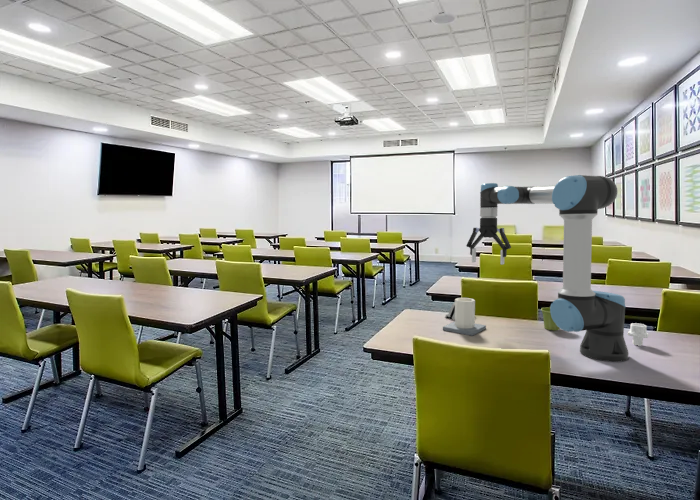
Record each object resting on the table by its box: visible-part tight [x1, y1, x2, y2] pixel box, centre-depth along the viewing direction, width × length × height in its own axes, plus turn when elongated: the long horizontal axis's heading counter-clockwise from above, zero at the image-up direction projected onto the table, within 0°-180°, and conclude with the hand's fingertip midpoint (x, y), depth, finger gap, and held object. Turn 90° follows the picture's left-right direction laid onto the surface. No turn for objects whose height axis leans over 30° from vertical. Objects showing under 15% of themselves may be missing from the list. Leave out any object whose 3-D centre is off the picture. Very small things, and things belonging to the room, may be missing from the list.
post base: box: [442, 321, 487, 337], centre depth 186 cm, size 14×14×10 cm
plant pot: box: [540, 307, 561, 332], centre depth 185 cm, size 9×9×9 cm
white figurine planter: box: [627, 322, 649, 347], centre depth 162 cm, size 6×7×8 cm
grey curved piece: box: [444, 301, 455, 320], centre depth 210 cm, size 17×5×10 cm, turn 140°
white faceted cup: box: [454, 297, 476, 329], centre depth 185 cm, size 8×8×12 cm
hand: (487, 263), depth 192 cm, fingers open, 13 cm apart
